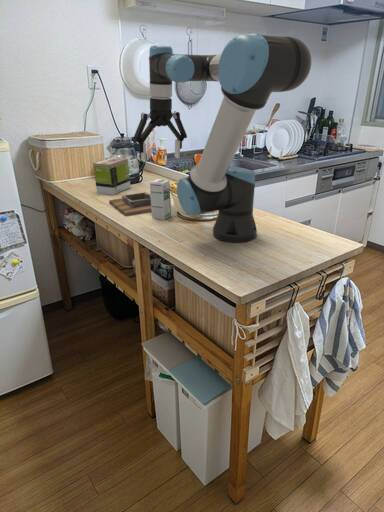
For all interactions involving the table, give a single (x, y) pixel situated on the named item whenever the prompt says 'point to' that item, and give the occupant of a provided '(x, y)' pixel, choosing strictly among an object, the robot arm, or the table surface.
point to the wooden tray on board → (133, 204)
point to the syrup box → (160, 199)
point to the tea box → (112, 175)
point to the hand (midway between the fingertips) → (160, 159)
